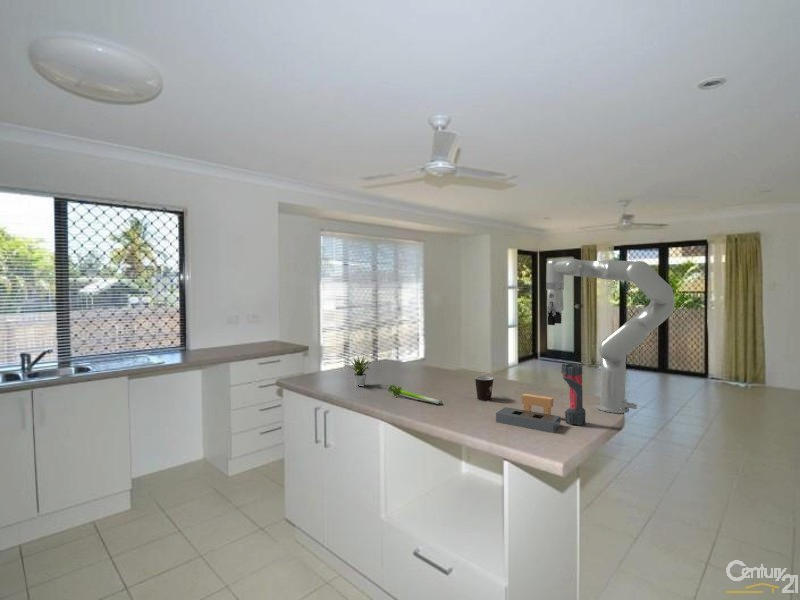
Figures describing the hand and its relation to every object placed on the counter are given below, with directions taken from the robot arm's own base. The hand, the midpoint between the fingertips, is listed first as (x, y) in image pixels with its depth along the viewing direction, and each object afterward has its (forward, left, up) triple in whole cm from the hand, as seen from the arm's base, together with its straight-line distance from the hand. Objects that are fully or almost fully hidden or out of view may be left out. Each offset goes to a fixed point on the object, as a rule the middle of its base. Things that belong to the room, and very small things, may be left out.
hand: (554, 324), depth 192 cm
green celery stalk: (+56, +33, -37) cm, 74 cm away
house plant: (+94, +27, -36) cm, 104 cm away
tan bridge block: (0, +25, -36) cm, 44 cm away
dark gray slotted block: (0, +37, -36) cm, 52 cm away
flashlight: (-14, +27, -36) cm, 47 cm away
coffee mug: (+28, +12, -36) cm, 47 cm away
